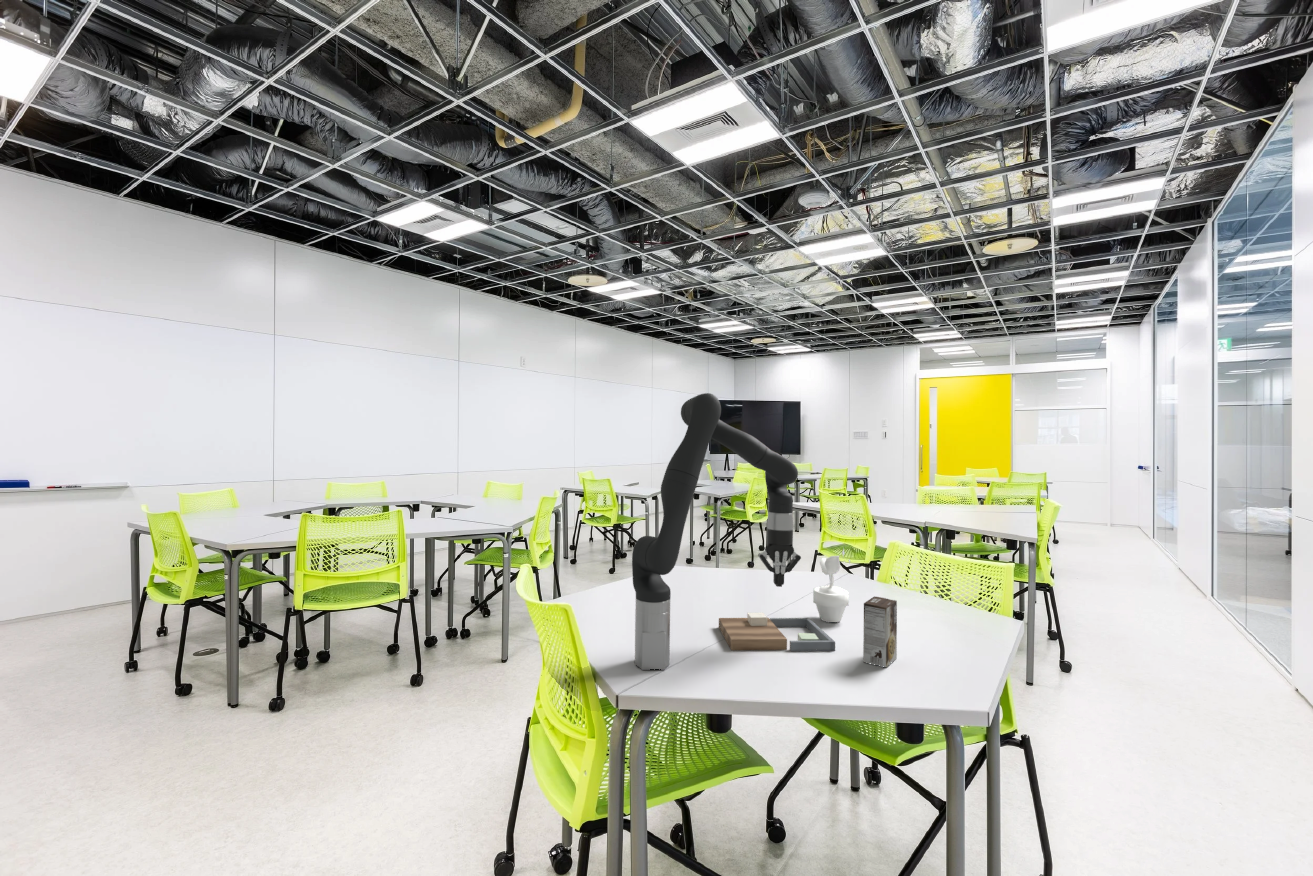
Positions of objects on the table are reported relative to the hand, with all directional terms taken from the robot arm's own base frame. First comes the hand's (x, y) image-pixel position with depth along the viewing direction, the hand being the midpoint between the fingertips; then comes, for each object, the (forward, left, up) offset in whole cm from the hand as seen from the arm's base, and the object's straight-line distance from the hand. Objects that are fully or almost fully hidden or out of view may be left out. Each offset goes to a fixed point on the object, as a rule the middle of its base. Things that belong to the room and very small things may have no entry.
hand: (778, 586), depth 169 cm
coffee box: (-16, -24, -17) cm, 33 cm away
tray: (+3, -7, -16) cm, 18 cm away
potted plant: (+20, -24, -17) cm, 35 cm away
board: (+3, +7, -16) cm, 18 cm away
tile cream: (+8, +4, -13) cm, 16 cm away
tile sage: (-2, -8, -14) cm, 17 cm away
